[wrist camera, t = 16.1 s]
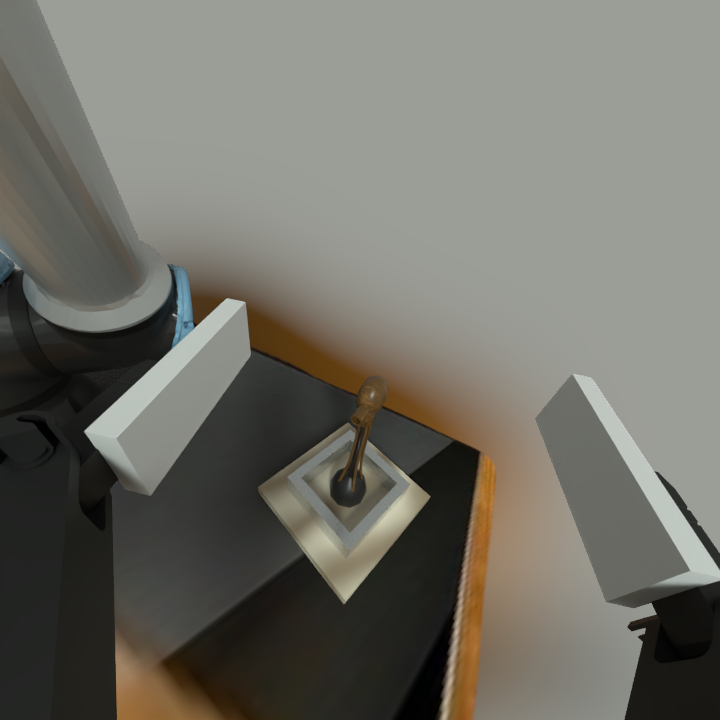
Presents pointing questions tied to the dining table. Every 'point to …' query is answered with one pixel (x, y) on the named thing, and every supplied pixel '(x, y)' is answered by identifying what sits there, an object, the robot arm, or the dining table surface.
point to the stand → (341, 518)
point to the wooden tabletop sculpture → (359, 444)
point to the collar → (321, 513)
